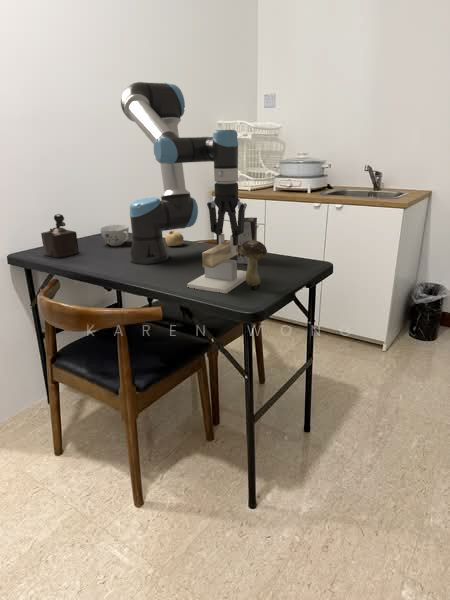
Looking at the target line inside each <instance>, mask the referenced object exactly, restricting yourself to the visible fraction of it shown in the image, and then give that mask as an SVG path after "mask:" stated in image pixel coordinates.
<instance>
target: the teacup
mask: <svg viewBox="0 0 450 600" xmlns="http://www.w3.org/2000/svg"><path fill="white" fill-rule="evenodd" d="M99 230H100V234H101V236H102V239H104V241H105V242H106V243H108V244H109V246H111V247H117V246H118V247H119V246H121V245H123V244H124V243H125V242H126V241H128V240H129V237H130V236H129V231H130V230H129V225H127V224H110V225H105V226H102V227H101V228H99Z"/></svg>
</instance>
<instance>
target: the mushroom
mask: <svg viewBox="0 0 450 600" xmlns="http://www.w3.org/2000/svg"><path fill="white" fill-rule="evenodd" d="M240 251H241V253H242V254H243V255H245V256H247V257H248V264H247V267H246V271H247V272H246V280H245V281H246V285H248V286H249V287H250V288H251V289H252V290H257V289H259V287H261V278H260V275H259V272H258V265H259V261H261V260H264V259H265V258H266V257H267V255H268V250H267V247H266V246H265V245H264V243H262V242H261V241H259V240H257V241H256V240H249V241H246V242H244V243H242V244H241V246H240Z"/></svg>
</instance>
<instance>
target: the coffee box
mask: <svg viewBox="0 0 450 600" xmlns="http://www.w3.org/2000/svg"><path fill="white" fill-rule="evenodd" d="M257 222H258V218H257V217H244V233H242V234H240V235H238V254H237V264H243V265H248V257H247V256H245V255H243V254H242V253H241V251H240V246H241V244H242V243H244V242H246V241H249V240H256V241H258V240H257V239H258V223H257Z"/></svg>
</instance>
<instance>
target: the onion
mask: <svg viewBox="0 0 450 600" xmlns="http://www.w3.org/2000/svg"><path fill="white" fill-rule="evenodd" d="M164 240H165V244H167V246H169V247H180V246H182V245H183V244H184V235H183V234H182V233H181V232H179V231H176V230H175V231H174V230H168V233H167V234H166V236H165V239H164Z"/></svg>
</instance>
